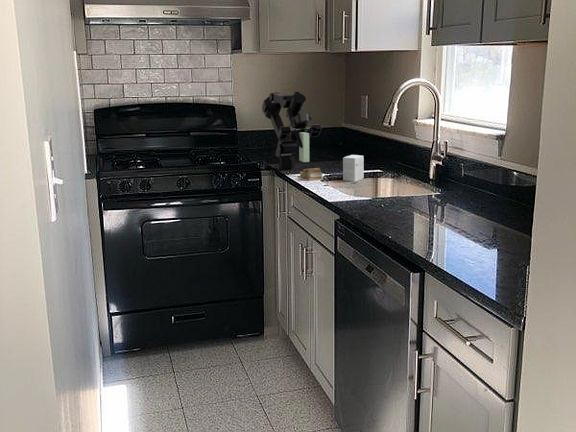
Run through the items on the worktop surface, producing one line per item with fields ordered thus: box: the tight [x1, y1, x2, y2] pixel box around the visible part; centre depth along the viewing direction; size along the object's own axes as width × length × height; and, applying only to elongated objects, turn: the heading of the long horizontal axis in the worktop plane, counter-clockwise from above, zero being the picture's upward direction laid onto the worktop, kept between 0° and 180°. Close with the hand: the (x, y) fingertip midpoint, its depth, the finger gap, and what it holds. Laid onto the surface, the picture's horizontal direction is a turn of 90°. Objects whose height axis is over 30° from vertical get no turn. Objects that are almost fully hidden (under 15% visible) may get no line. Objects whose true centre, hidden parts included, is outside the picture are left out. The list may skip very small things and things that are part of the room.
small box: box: [342, 154, 365, 184], centre depth 266 cm, size 8×6×10 cm
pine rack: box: [297, 167, 324, 182], centre depth 272 cm, size 12×7×5 cm, turn 21°
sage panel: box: [298, 132, 310, 163], centre depth 275 cm, size 5×3×12 cm, turn 21°
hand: (305, 147), depth 273 cm, fingers closed on sage panel, 3 cm apart
